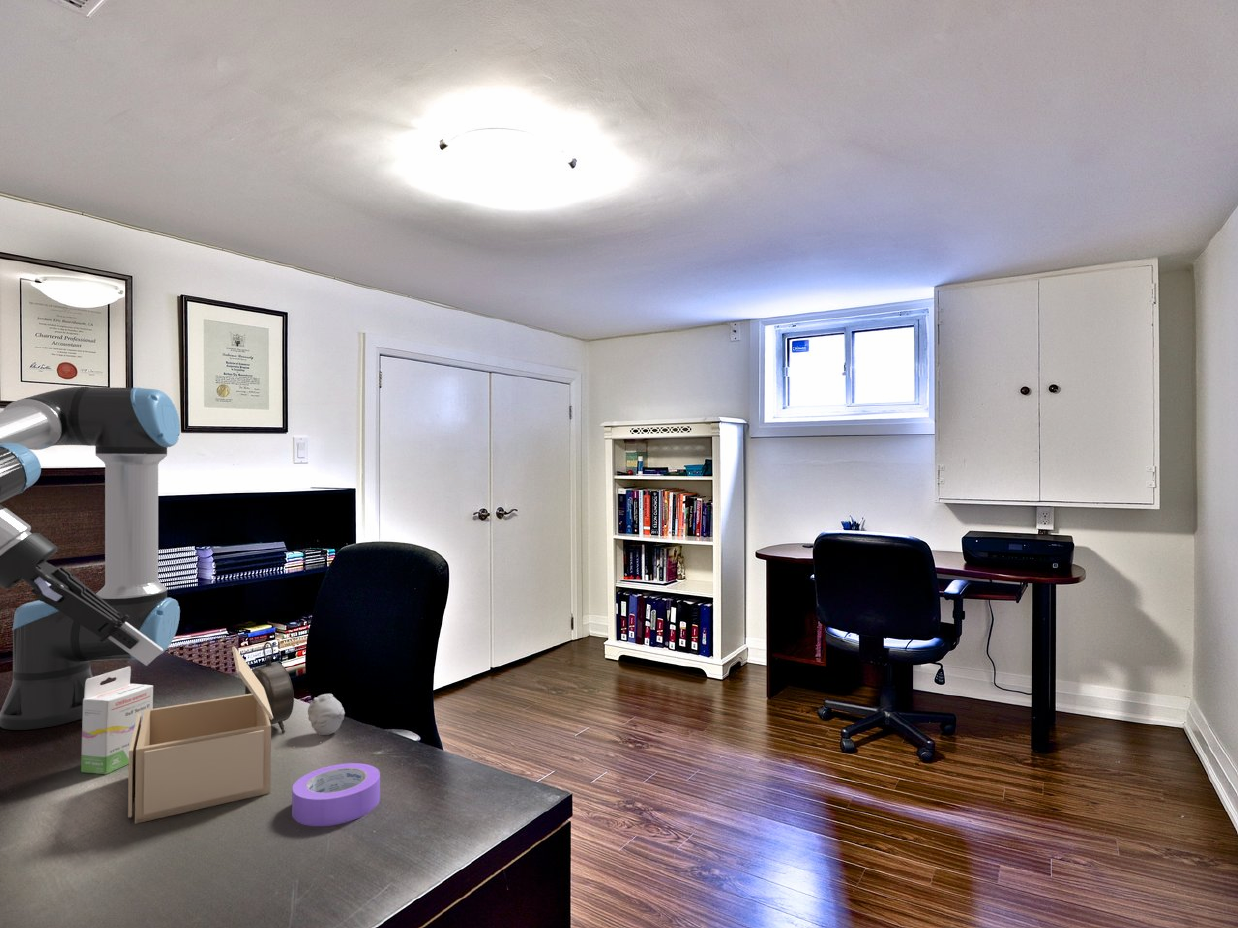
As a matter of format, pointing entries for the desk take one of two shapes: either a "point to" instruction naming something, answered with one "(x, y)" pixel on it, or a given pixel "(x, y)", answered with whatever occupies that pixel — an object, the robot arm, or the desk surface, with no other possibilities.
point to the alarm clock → (275, 689)
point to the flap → (251, 682)
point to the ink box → (111, 720)
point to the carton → (198, 756)
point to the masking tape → (335, 794)
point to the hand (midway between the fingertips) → (154, 657)
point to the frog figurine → (325, 714)
